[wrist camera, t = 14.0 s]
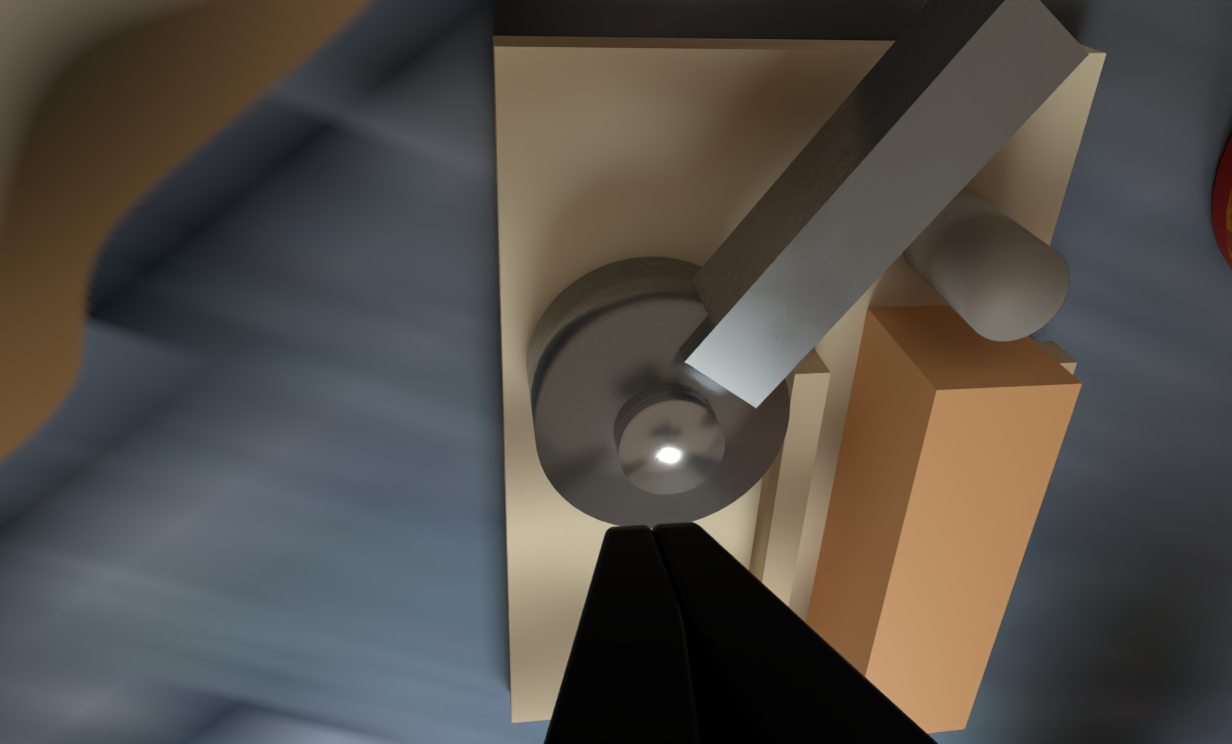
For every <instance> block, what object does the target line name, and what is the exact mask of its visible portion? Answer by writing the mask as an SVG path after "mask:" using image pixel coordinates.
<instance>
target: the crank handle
mask: <svg viewBox="0 0 1232 744" xmlns="http://www.w3.org/2000/svg"><path fill="white" fill-rule="evenodd" d="M1088 55H1089V54H1088V53H1087V52H1086V50H1085V49H1084V48H1083V47H1082V46H1081V45H1080V44H1079V43H1078V42H1077V41H1076V39H1075V38H1074V37H1073V36H1072V35H1071V34H1070V33H1069V32H1068V31H1067V30H1066V28H1065V27H1064V26H1063V25H1062V24H1061V23H1060V22H1059V21H1058V20H1057V19H1056V17H1055V16H1054V15H1053V14H1052V13H1051V12H1050V11H1049V10H1048V9H1047V8H1046V6H1045V5H1044V4H1043V3H1042V2H1041V1H1040V0H930V1H929V2H928V3H927V5H926V6H925V7H924V8H923V9H922V10H921V12H920V13H919V14H918V15H917V16H916V18H915V19H914V20H913V21H912V22H911V23H910V25H909V26H908V27H907V28H906V29H905V30H904V32H903V33H902V34H901V35H900V36H899V37H898V39H897V40H896V41H895V42H894V43H893V44H892V46H891V47H890V48H889V49H888V50H887V51H886V53H885V54H884V55H883V56H882V57H881V58H880V60H879V61H878V62H877V63H876V64H875V65H874V67H873V68H872V69H871V70H870V71H869V73H868V74H867V75H866V76H865V77H864V78H863V80H862V81H861V82H860V83H859V84H858V85H857V87H856V88H855V89H854V90H853V91H852V92H851V94H850V95H849V96H848V97H847V98H846V99H845V101H844V102H843V103H842V104H841V105H840V106H839V108H838V109H837V110H836V111H835V112H834V113H833V115H832V116H831V117H830V118H829V119H828V120H827V122H826V123H825V124H824V125H823V126H822V128H821V129H820V130H819V131H818V132H817V133H816V135H815V136H814V137H813V138H812V139H811V140H810V142H809V143H808V144H807V145H806V146H805V147H804V149H803V150H802V151H801V152H800V153H799V154H798V156H797V157H796V158H795V159H794V160H793V161H792V163H791V164H790V165H789V166H788V167H787V168H786V170H785V171H784V172H783V173H782V174H781V175H780V177H779V178H778V179H777V180H776V181H775V183H774V184H773V185H772V186H771V187H770V188H769V190H768V191H767V192H766V193H765V194H764V195H763V197H762V198H761V199H760V200H759V201H758V202H757V204H756V205H755V206H754V207H753V208H752V209H751V211H750V212H749V213H748V214H747V215H746V216H745V218H744V219H743V220H742V221H741V222H740V223H739V225H738V226H737V227H736V228H735V229H734V230H733V232H732V233H731V234H730V235H729V236H728V238H727V239H726V240H725V241H724V242H723V243H722V245H721V246H720V247H719V248H718V249H717V250H716V252H715V253H714V254H713V255H712V256H711V257H710V259H709V260H708V261H707V262H706V263H705V264H704V266H703V267H700V266H698V265H695V264H693V263H690V262H686V261H683V260H679V259H674V258H667V257H638V258H629V259H625V260H621V261H616V262H613V263H610V264H607V265H605V266H602V267H599V268H597V269H595V270H593V271H591V272H589V273H587V274H585V275H584V276H582V277H581V278H579V279H578V280H576V281H575V282H573V283H572V284H570V285H569V286H568V287H567V288H566V289H565V290H563V291H562V292H561V293H560V294H559V295H558V296H557V297H556V298H555V300H554V301H553V302H552V303H551V304H550V305H549V307H548V308H547V309H546V311H545V312H544V314H543V315H542V317H541V318H540V320H539V322H538V324H537V326H536V328H535V330H534V333H533V336H532V339H531V342H530V346H529V351H528V356H527V376H528V385H529V393H530V401H531V409H532V417H533V426H534V434H535V442H536V450H537V454H538V457H539V461H540V464H541V466H542V469H543V471H544V473H545V475H546V477H547V478H548V480H549V481H550V483H551V484H552V486H553V487H554V489H555V490H556V491H557V492H558V493H559V494H560V495H561V496H562V497H563V498H564V499H565V500H566V501H567V502H569V503H570V504H571V505H572V506H573V507H575V508H577V509H578V510H580V511H581V512H583V513H585V514H586V515H589V516H591V517H593V518H595V519H598V520H600V521H603V522H606V523H610V524H613V525H618V526H631V525H646V526H648V527H650V528H653V527H654V526H655V525H657V524H662V523H678V522H693V521H696V520H699V519H702V518H705V517H707V516H709V515H711V514H713V513H716V512H718V511H720V510H721V509H723V508H725V507H727V506H728V505H730V504H732V503H733V502H735V501H736V500H737V499H739V498H740V497H741V496H743V495H744V494H745V493H747V492H748V491H749V490H750V489H751V488H752V487H753V486H754V485H755V484H756V483H757V482H758V481H759V480H760V479H761V478H762V476H763V475H764V474H765V473H766V472H767V470H768V469H769V468H770V466H771V465H772V463H773V462H774V460H775V458H776V457H777V455H778V453H779V451H780V449H781V447H782V444H783V441H784V439H785V436H786V433H787V428H788V423H789V416H790V399H789V390H788V387H787V383H786V379H785V377H786V376H787V375H788V374H789V373H790V372H791V371H792V370H793V369H794V368H795V367H796V365H797V364H798V363H799V362H800V361H801V360H802V359H803V358H804V357H805V356H806V355H807V354H808V353H809V352H810V351H811V350H812V348H813V347H814V346H815V345H816V344H817V343H818V342H819V341H820V340H821V339H822V338H823V337H824V336H825V335H826V334H827V332H828V331H829V330H830V329H831V328H832V327H833V326H834V325H835V324H836V323H837V322H838V321H839V320H840V319H841V318H842V317H843V315H844V314H845V313H846V312H847V311H848V310H849V309H850V308H851V307H852V306H853V305H854V304H855V303H856V302H857V301H858V300H859V298H860V297H861V296H862V295H863V294H864V293H865V292H866V291H867V290H868V289H869V288H870V287H871V286H872V285H873V284H874V283H875V281H876V280H877V279H878V278H879V277H880V276H881V275H882V274H883V273H884V272H885V271H886V270H887V269H888V268H889V267H890V265H891V264H892V263H893V262H894V261H895V260H896V259H897V258H898V257H899V256H900V255H901V254H902V253H903V252H904V251H905V250H906V248H907V247H908V246H909V245H910V244H911V243H912V242H913V241H914V240H915V239H916V238H917V237H918V236H919V235H920V234H921V233H922V231H923V230H924V229H925V228H926V227H927V226H928V225H929V224H930V223H931V222H932V221H933V220H934V219H935V218H936V217H937V215H938V214H939V213H940V212H941V211H942V210H943V209H944V208H945V207H946V206H947V205H948V204H949V203H950V202H951V201H952V200H953V198H954V197H955V196H956V195H957V194H958V193H959V192H960V191H961V190H962V189H963V188H964V187H965V186H966V185H967V184H968V183H969V181H970V180H971V179H972V178H973V177H974V176H975V175H976V174H977V173H978V172H979V171H980V170H981V169H982V168H983V167H984V165H985V164H986V163H987V162H988V161H989V160H990V159H991V158H992V157H993V156H994V155H995V154H996V153H997V152H998V151H999V150H1000V148H1001V147H1002V146H1003V145H1004V144H1005V143H1006V142H1007V141H1008V140H1009V139H1010V138H1011V137H1012V136H1013V135H1014V134H1015V133H1016V131H1017V130H1018V129H1019V128H1020V127H1021V126H1022V125H1023V124H1024V123H1025V122H1026V121H1027V120H1028V119H1029V118H1030V117H1031V115H1032V114H1033V113H1034V112H1035V111H1036V110H1037V109H1038V108H1039V107H1040V106H1041V105H1042V104H1043V103H1044V102H1045V101H1046V100H1047V98H1048V97H1049V96H1050V95H1051V94H1052V93H1053V92H1054V91H1055V90H1056V89H1057V88H1058V87H1059V86H1060V85H1061V84H1062V83H1063V81H1064V80H1065V79H1066V78H1067V77H1068V76H1069V75H1070V74H1071V73H1072V72H1073V71H1074V70H1075V69H1076V68H1077V67H1078V66H1079V64H1080V63H1081V62H1082V61H1083V60H1084V59H1085V58H1086V57H1087V56H1088Z"/></svg>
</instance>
